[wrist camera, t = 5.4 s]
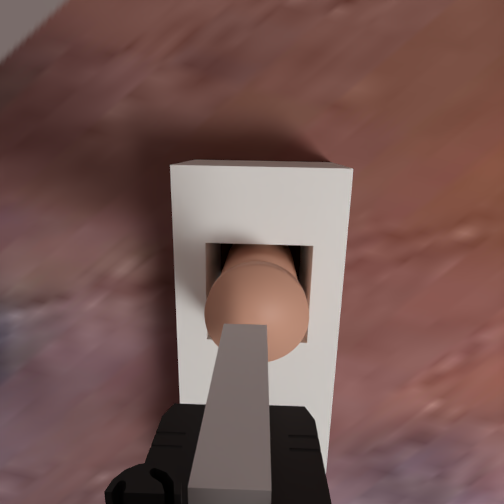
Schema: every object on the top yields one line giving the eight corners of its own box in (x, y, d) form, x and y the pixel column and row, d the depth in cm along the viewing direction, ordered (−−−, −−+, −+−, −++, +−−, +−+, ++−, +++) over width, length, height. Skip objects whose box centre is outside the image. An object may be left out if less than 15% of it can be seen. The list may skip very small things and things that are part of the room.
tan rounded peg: (223, 296, 23) (205, 361, 16) (223, 226, 22) (203, 265, 15) (294, 298, 23) (306, 364, 16) (298, 228, 22) (312, 268, 15)
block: (203, 500, 30) (187, 587, 24) (195, 159, 22) (170, 164, 17) (305, 505, 29) (315, 594, 24) (330, 162, 22) (353, 168, 16)
